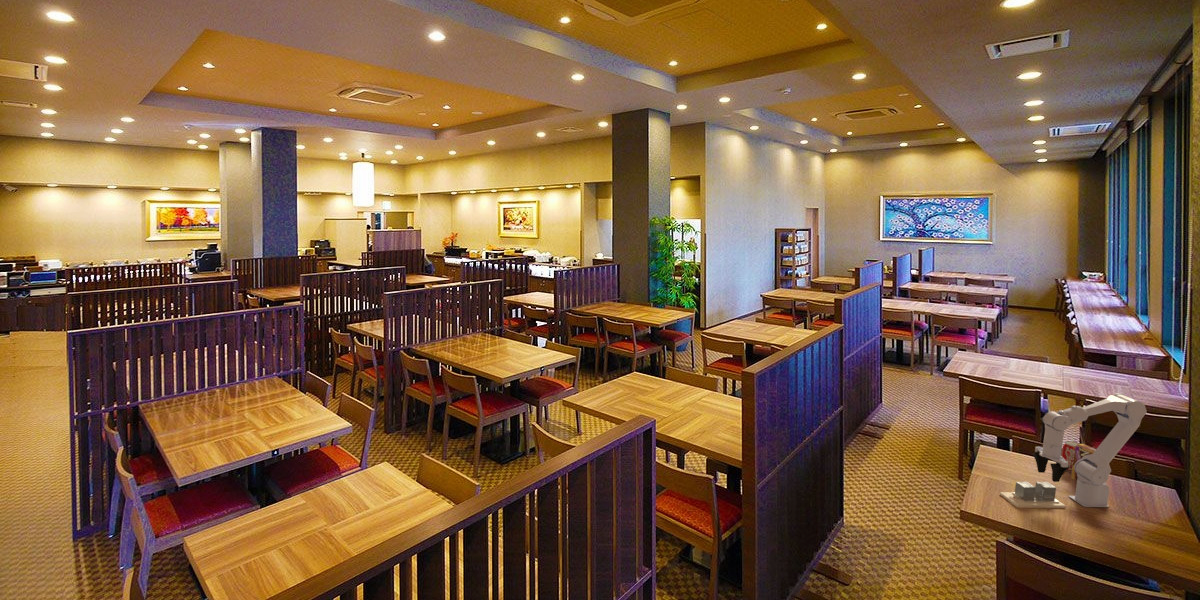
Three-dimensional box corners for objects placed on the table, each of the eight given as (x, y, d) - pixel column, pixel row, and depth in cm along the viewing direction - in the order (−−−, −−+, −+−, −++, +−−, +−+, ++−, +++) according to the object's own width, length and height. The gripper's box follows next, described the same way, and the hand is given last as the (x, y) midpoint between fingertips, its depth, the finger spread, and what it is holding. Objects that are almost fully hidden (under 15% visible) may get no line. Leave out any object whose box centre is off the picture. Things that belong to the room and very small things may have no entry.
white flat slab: (1045, 493, 232) (1045, 492, 232) (1059, 503, 225) (1059, 501, 225) (1012, 493, 232) (1012, 492, 232) (1024, 502, 225) (1024, 501, 225)
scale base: (1045, 495, 233) (1046, 491, 233) (1065, 507, 223) (1065, 504, 223) (999, 494, 234) (1000, 491, 233) (1017, 507, 224) (1017, 504, 223)
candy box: (1100, 487, 239) (1105, 452, 237) (1091, 488, 238) (1097, 453, 236) (1078, 477, 248) (1083, 443, 245) (1070, 478, 247) (1075, 444, 244)
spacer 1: (1014, 493, 231) (1016, 481, 230) (1025, 493, 231) (1027, 481, 230) (1022, 499, 226) (1024, 487, 226) (1034, 499, 227) (1035, 487, 226)
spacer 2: (1034, 493, 231) (1036, 481, 230) (1046, 493, 231) (1047, 482, 230) (1042, 499, 226) (1044, 487, 226) (1054, 499, 226) (1056, 487, 226)
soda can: (1084, 474, 251) (1088, 447, 249) (1065, 472, 252) (1069, 446, 250) (1074, 467, 258) (1078, 441, 256) (1056, 465, 259) (1059, 439, 257)
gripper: (1028, 435, 232) (1024, 468, 234) (1056, 451, 218) (1051, 485, 220) (1047, 436, 232) (1042, 468, 234) (1075, 451, 218) (1070, 485, 220)
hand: (1048, 476), depth 227 cm, fingers open, 7 cm apart
